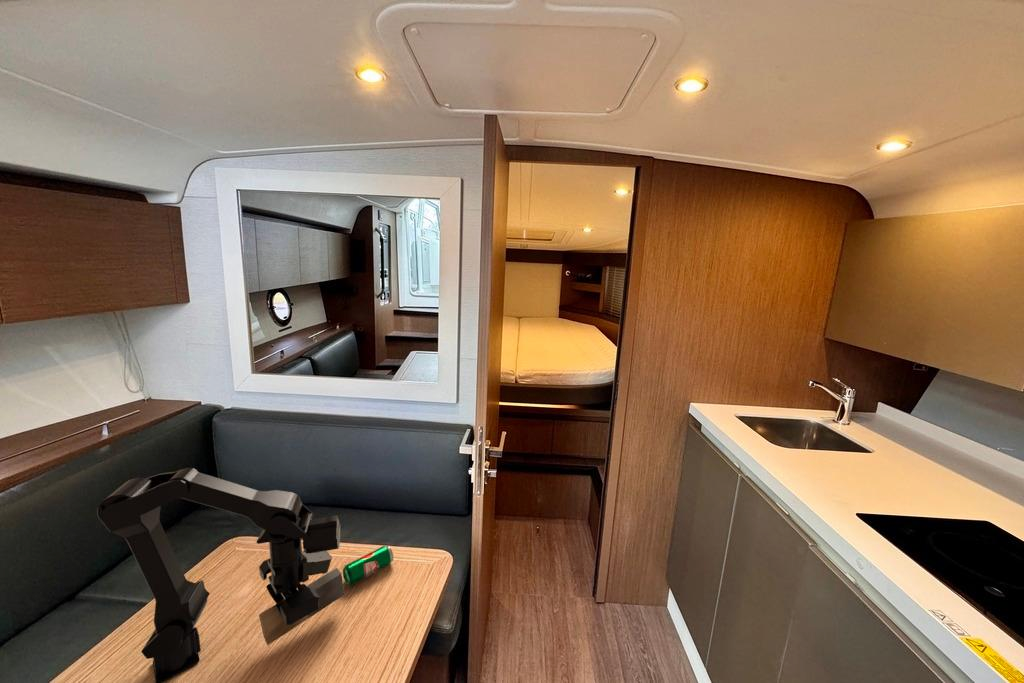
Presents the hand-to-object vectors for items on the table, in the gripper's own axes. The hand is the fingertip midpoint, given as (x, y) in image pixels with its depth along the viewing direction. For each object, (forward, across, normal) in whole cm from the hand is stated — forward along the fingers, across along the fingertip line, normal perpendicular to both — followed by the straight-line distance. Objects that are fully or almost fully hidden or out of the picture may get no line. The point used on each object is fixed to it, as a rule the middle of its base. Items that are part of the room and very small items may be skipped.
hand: (290, 619), depth 83 cm
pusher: (+1, 0, -3) cm, 3 cm away
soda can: (+2, +6, -14) cm, 15 cm away
